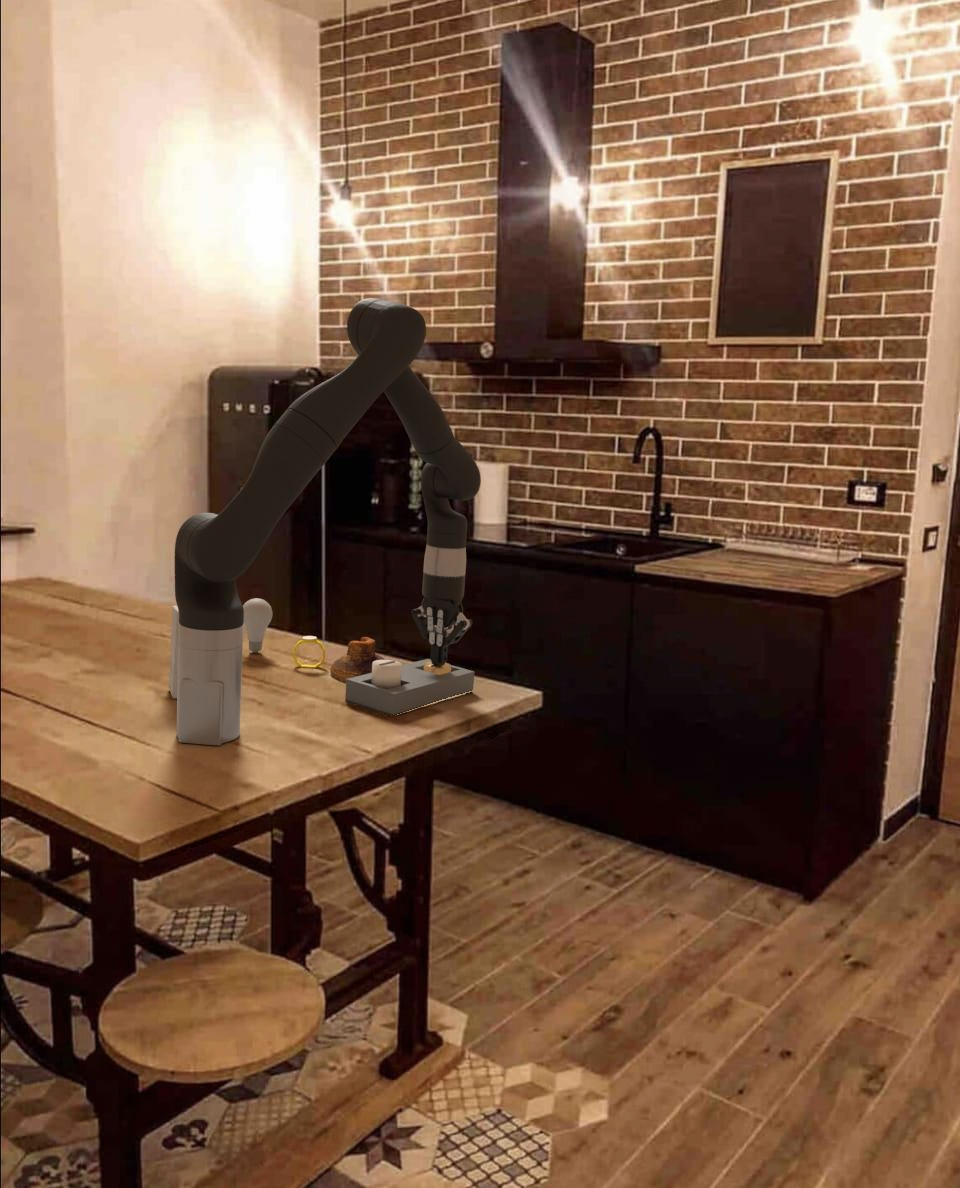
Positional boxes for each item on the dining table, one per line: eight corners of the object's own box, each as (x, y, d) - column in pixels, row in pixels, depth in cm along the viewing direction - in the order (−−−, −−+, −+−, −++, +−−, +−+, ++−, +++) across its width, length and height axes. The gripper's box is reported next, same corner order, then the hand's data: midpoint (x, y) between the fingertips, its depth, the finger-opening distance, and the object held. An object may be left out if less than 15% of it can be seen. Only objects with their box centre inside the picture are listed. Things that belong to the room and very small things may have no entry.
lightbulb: (267, 657, 197) (269, 602, 195) (236, 655, 197) (237, 600, 195) (273, 650, 203) (276, 596, 201) (243, 647, 203) (245, 594, 201)
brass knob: (438, 691, 181) (439, 669, 180) (416, 685, 184) (418, 663, 183) (455, 686, 185) (456, 664, 184) (434, 680, 188) (435, 659, 187)
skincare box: (172, 699, 167) (174, 612, 164) (168, 689, 173) (169, 604, 170) (223, 697, 171) (226, 611, 168) (218, 687, 176) (220, 603, 173)
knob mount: (393, 717, 167) (394, 693, 166) (345, 701, 173) (346, 679, 173) (472, 692, 185) (474, 671, 184) (426, 679, 191) (428, 658, 190)
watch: (293, 669, 191) (292, 639, 190) (294, 666, 194) (293, 635, 193) (325, 669, 192) (324, 638, 191) (325, 665, 195) (324, 635, 194)
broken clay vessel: (354, 688, 182) (356, 649, 181) (317, 672, 191) (319, 634, 189) (405, 680, 190) (408, 642, 189) (368, 665, 199) (370, 629, 197)
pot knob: (386, 692, 169) (388, 668, 169) (365, 685, 172) (366, 661, 171) (406, 686, 173) (407, 663, 173) (384, 680, 176) (386, 657, 175)
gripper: (486, 574, 180) (479, 668, 183) (429, 563, 187) (423, 653, 190) (460, 578, 174) (454, 676, 177) (402, 567, 181) (397, 660, 184)
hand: (438, 664), depth 184 cm, fingers closed
